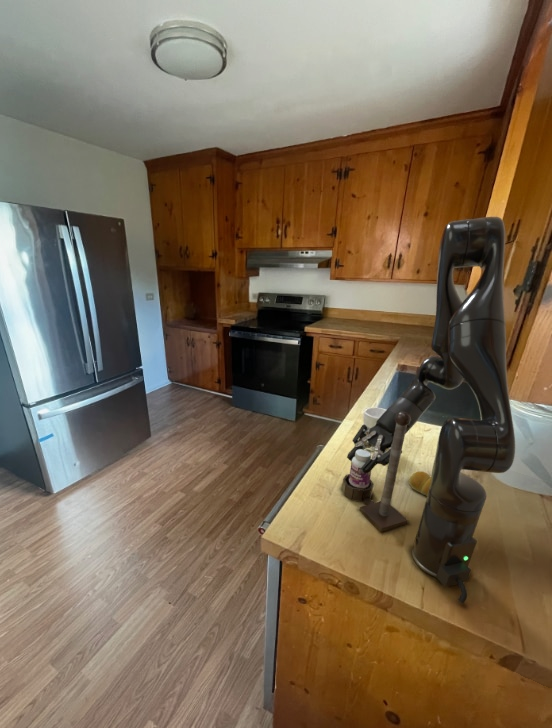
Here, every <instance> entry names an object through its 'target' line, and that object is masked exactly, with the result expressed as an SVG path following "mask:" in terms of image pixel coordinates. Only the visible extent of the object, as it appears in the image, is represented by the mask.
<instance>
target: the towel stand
mask: <svg viewBox="0 0 552 728" xmlns="http://www.w3.org/2000/svg"><path fill="white" fill-rule="evenodd" d="M410 421H411V417H410V415H409V414H408V413H406V412H399V413H397V414H396V416H395V422H396V427H395V432H394V437H393V442H392V447H391V453H390V458H389V463H388V464H387V468H386V472H385V478H384V484H383V488H382V494H381V499H380V501H376V502H374V501H373V499H371V497H372V495H373V490H374V486H375V485H374V482H373V481H372V479H371V478H370V481H369V485H368V486H367V487H366V488H363V489H362V488H356V487H354V486H352V485H351V484H350V482H349V476H350V473H348V474H345V476H344V477H343V479H342V484H341V491H342V494H343V495H344V496H345V497H346V498H348V499H349V500H352V501H355V502H363V503H364V504H365V505H362V506H360V507H359V512H360V513H361V514H362V515H363V516H364V517H365V518H366V519H367V520H368V521H369V522H370V523H371V524H372V525H373V526H374V527H375V528H376V529H377V530H378V531H379V532H380V533H382V532H386V531H389V530H392V529H396V528H398V527H402V526H405V525H408V521H409V519H408V518H406V517H405V516H404V515H403V514H402V513H400V511H399V510H397V509H396V508H395V507H393V506H392V504H391V503H392V498H393V494H394V490H395V484H396V479H397V475H398V470H399V466H400V462H401V461H400V460H401V456H402V453H401V451H402V452H403V446H404V441H405V438H406V434H405V432H406V427H407V425H408V424H409V423H410Z"/></svg>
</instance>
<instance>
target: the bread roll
mask: <svg viewBox="0 0 552 728" xmlns="http://www.w3.org/2000/svg"><path fill="white" fill-rule="evenodd" d="M407 483H408V485H409V486H410V487H411V489H413V490H414V491H416V492H418V493H421V494H422V495H424V496H426V497H427V494H428V490H429V487H430V483H431V476H430V475H429V474H428V473H427V472H425V471H416V472H414V473H412V474H411V475H409V477H408V478H407Z"/></svg>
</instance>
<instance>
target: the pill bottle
mask: <svg viewBox="0 0 552 728" xmlns="http://www.w3.org/2000/svg"><path fill="white" fill-rule="evenodd" d="M369 459H372V452H371V451H370V450H368V449H359V450H357V451H356V453H355V457H353V459H352V462H351V461H350V462H351V463H350V469H349V474H350V476H349V482H350V484H351V485H350V486H352V487H353V488H356V489H365V488H366V487H367V486H368V485H369V481H370V479H371V474H372V470H371V471H370V472H367V473H364V472H363V471H362V470H361V467H362V466H363V465H364V464H365V463H366V462H367V461H368V460H369Z"/></svg>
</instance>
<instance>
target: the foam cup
mask: <svg viewBox="0 0 552 728" xmlns="http://www.w3.org/2000/svg"><path fill="white" fill-rule="evenodd" d="M386 410H387V408H384V407H383V408H382V407H376V406H375V407H374V406H373V407H367V408H364V410H363V415H362V418H363V419H362V420H363V423H362V425H366V426H367V427H369V428H372V427H374V426H375V425H376V422H377V420H378V419H379V418H380V417H381V416H382V415H383V413H384V412H385V411H386ZM367 442H368V441H367ZM363 445H364V444H363ZM365 450H367V451H369V452H374V447H373V446H372V447H370V448H366V449H365Z"/></svg>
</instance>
